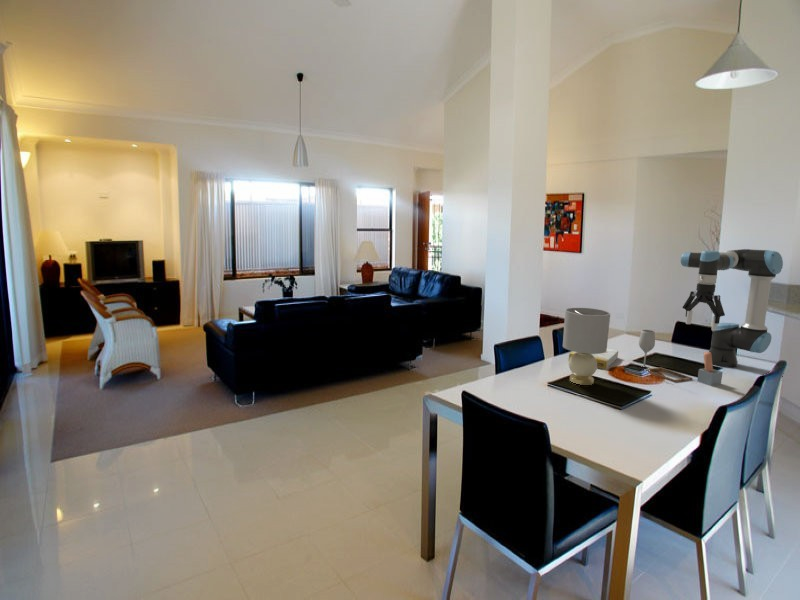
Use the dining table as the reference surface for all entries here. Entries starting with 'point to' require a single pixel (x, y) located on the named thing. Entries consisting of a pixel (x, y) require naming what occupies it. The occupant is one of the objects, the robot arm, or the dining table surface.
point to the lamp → (585, 341)
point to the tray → (658, 370)
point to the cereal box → (603, 358)
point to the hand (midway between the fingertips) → (700, 326)
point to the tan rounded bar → (708, 362)
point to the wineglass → (647, 342)
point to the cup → (709, 377)
